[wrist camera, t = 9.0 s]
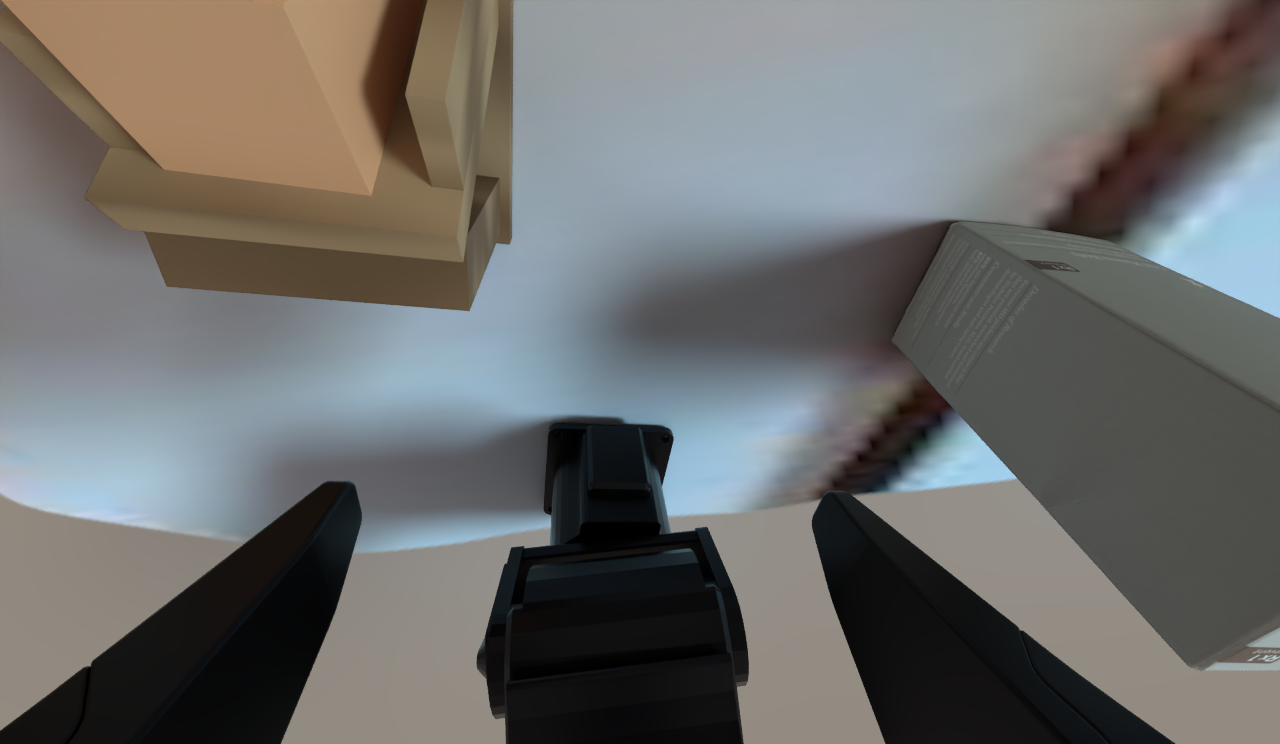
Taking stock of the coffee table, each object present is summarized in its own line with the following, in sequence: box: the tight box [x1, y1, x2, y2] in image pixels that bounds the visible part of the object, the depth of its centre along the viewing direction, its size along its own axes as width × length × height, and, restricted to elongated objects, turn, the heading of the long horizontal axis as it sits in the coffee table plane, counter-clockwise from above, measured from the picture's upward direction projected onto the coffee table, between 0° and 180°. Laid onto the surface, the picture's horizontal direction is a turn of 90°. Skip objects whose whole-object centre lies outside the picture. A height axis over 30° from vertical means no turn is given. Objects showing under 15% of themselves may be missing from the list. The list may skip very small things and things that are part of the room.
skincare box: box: [892, 221, 1280, 671], centre depth 17 cm, size 8×7×16 cm
